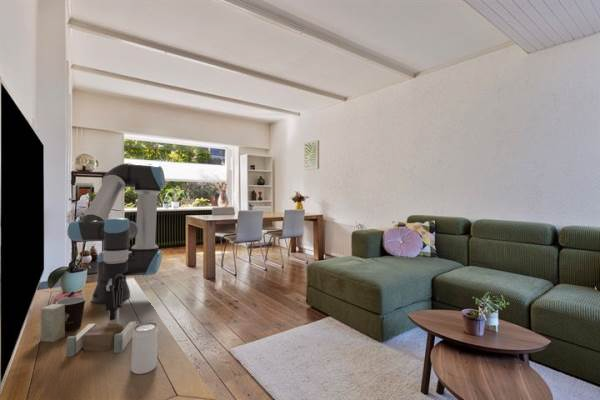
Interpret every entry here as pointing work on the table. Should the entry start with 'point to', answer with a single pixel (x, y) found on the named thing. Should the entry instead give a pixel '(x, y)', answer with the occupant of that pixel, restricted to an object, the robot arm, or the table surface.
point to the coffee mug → (73, 312)
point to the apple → (67, 296)
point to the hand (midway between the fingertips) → (113, 327)
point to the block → (102, 337)
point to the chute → (78, 341)
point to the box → (52, 322)
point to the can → (144, 348)
